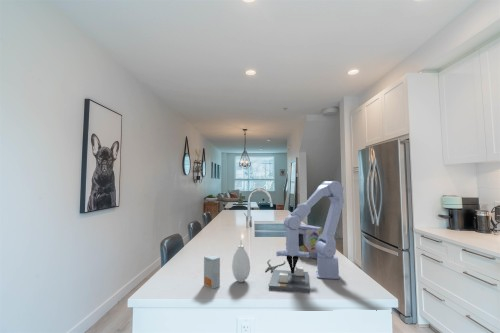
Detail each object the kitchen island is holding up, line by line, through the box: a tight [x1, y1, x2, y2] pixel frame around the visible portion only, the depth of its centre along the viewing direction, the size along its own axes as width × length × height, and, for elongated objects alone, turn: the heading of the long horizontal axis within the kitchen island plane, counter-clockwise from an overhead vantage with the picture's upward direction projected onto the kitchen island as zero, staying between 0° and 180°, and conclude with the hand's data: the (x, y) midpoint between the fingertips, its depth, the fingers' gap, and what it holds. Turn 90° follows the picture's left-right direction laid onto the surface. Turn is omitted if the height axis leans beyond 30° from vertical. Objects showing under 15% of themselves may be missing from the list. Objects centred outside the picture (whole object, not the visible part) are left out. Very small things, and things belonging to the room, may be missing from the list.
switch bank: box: [268, 269, 310, 293], centre depth 112 cm, size 16×19×2 cm
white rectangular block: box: [279, 272, 288, 283], centre depth 108 cm, size 4×3×3 cm
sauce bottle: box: [231, 241, 251, 283], centre depth 113 cm, size 8×8×18 cm
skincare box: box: [203, 254, 221, 290], centre depth 108 cm, size 6×4×12 cm
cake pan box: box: [298, 223, 323, 260], centre depth 152 cm, size 19×5×18 cm, turn 37°
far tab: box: [295, 265, 305, 276], centre depth 116 cm, size 4×3×3 cm
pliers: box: [264, 259, 286, 274], centre depth 133 cm, size 10×1×20 cm
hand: (292, 272), depth 116 cm, fingers closed
